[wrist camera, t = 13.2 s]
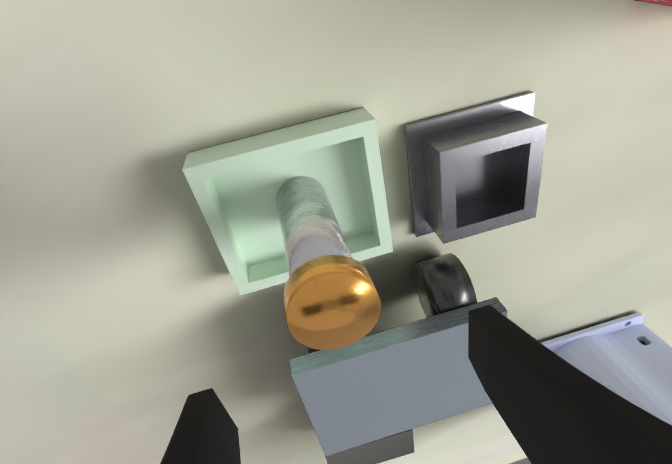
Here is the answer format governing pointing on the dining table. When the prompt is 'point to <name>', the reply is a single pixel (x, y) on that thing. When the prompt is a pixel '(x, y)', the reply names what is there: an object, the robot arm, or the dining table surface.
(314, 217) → the pin
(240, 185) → the tray
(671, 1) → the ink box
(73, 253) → the dining table surface
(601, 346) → the robot arm
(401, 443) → the block
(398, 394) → the trolley
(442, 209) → the pin socket
